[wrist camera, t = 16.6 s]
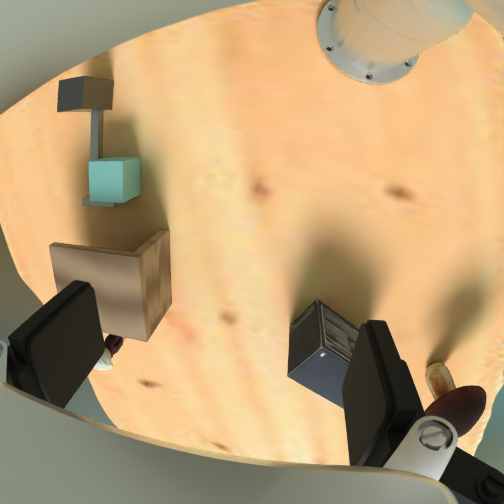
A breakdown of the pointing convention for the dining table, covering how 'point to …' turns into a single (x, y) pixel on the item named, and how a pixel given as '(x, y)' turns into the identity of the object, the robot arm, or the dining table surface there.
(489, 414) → the dining table surface
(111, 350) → the grandmother figurine
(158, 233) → the cubby
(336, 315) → the small box
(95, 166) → the block
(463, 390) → the decorative mushroom
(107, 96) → the grey long piece
